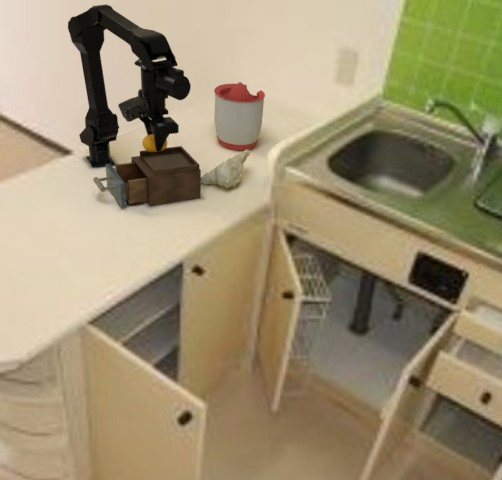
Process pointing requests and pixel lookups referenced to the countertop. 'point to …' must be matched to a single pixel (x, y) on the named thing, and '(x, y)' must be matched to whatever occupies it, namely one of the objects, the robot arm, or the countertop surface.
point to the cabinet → (170, 185)
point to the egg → (151, 144)
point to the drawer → (125, 183)
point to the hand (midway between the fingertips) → (155, 147)
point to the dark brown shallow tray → (169, 161)
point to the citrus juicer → (238, 116)
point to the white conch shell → (227, 171)
